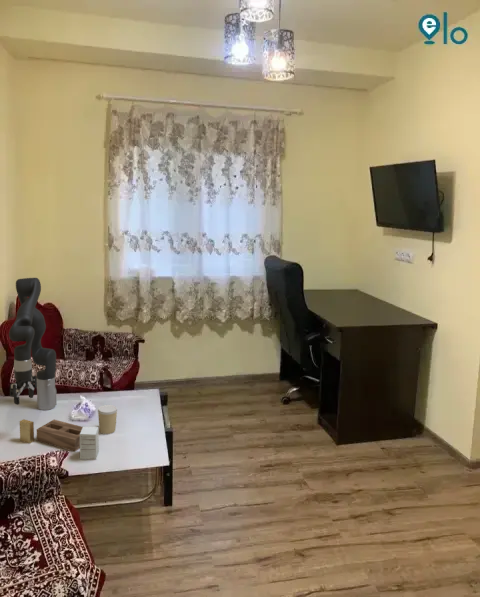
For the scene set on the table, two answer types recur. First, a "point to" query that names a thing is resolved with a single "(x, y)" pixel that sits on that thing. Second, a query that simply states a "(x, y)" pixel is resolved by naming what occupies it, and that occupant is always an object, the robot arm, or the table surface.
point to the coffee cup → (107, 419)
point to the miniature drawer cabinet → (89, 443)
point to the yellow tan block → (26, 431)
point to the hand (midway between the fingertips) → (24, 400)
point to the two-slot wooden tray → (60, 435)
